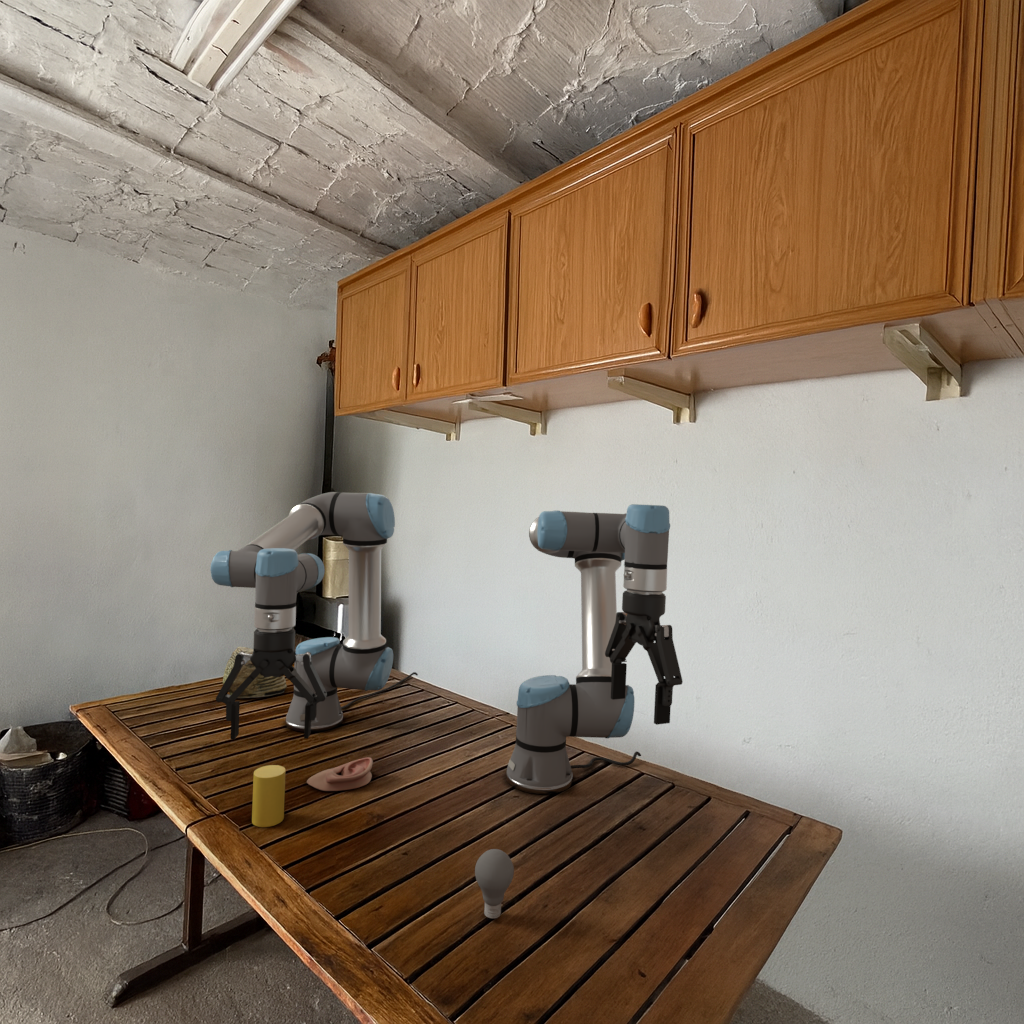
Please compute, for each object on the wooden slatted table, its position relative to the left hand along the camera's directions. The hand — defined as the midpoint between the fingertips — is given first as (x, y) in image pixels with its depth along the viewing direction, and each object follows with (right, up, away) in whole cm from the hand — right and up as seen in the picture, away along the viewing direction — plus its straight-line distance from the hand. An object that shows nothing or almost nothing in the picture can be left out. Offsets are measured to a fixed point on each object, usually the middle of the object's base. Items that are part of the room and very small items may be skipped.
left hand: (271, 736), depth 123 cm
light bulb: (+44, -19, -26) cm, 54 cm away
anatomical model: (+9, -16, +18) cm, 26 cm away
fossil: (-34, -13, +75) cm, 83 cm away
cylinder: (-1, -16, 0) cm, 16 cm away
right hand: (+70, +8, -11) cm, 71 cm away
